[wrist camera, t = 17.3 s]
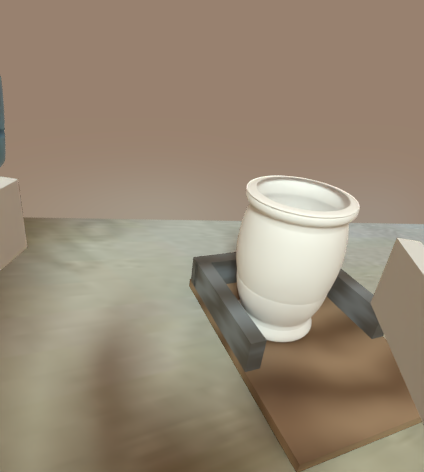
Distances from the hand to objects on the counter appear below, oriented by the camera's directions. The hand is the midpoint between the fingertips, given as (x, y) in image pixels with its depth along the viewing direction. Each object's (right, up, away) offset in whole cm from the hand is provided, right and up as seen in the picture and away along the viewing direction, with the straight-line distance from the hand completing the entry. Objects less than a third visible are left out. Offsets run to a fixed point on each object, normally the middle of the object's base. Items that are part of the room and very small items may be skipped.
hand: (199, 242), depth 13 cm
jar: (+7, -9, +28) cm, 30 cm away
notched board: (+10, -11, +27) cm, 31 cm away
